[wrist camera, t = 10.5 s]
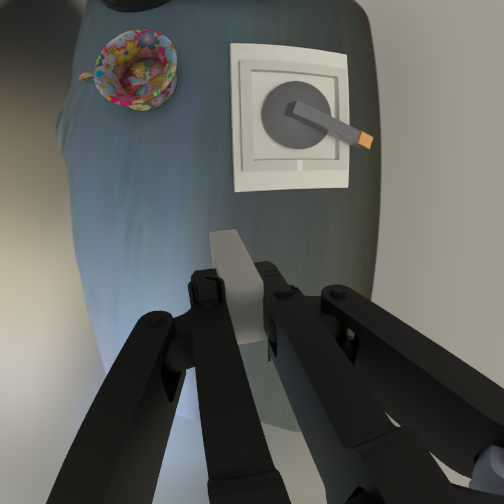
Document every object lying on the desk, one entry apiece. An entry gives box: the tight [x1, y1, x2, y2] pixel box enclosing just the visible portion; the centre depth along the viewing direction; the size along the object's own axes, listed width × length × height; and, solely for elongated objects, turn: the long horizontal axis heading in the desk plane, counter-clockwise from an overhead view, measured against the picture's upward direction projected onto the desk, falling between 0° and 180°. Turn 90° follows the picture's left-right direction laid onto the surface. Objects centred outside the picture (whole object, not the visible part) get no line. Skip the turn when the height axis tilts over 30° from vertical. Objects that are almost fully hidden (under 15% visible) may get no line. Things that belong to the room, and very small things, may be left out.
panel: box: [229, 43, 349, 192], centre depth 38 cm, size 22×18×3 cm
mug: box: [79, 29, 177, 111], centre depth 28 cm, size 12×9×11 cm
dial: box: [261, 81, 373, 149], centre depth 36 cm, size 15×10×6 cm, turn 71°
